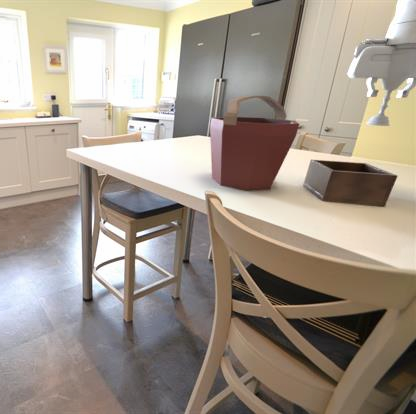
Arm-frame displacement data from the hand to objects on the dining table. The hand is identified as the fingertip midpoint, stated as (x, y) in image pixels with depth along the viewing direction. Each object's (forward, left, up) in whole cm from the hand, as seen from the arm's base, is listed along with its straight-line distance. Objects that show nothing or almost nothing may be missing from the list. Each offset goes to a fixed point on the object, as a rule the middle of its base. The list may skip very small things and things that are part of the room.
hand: (386, 97), depth 76 cm
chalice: (0, 0, -7) cm, 7 cm away
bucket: (+33, +6, -25) cm, 42 cm away
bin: (+8, +11, -25) cm, 28 cm away
